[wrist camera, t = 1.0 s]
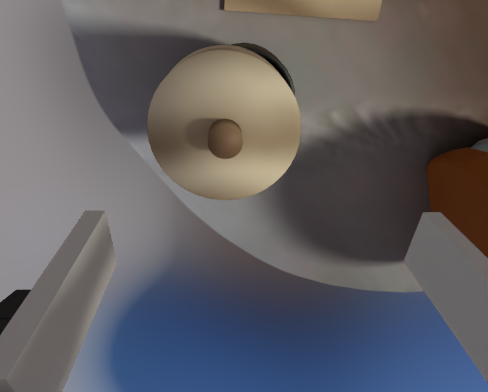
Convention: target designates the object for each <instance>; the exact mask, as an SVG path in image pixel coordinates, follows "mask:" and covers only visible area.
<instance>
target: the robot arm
mask: <svg viewBox="0 0 488 392" xmlns="http://www.w3.org/2000/svg"><path fill="white" fill-rule="evenodd" d="M404 262H405V264H406V265H407V267H408V268H409V269H410V271H411V272H412V274H413V275H414V277H415V278H416V280H417V281H418V283H419V284H420V285H421V287H422V288H423V290H424V291H425V293H426V294H427V296H428V297H429V298H430V300H431V301H432V303H433V304H434V306H435V307H436V309H437V310H438V311H439V313H440V314H441V316H442V317H443V319H444V320H445V322H446V323H447V324H448V326H449V327H450V329H451V330H452V332H453V333H454V335H455V336H456V338H457V339H458V341H459V342H460V344H461V345H462V346H463V348H464V349H465V351H466V352H467V354H468V355H469V357H470V358H471V359H472V361H473V362H474V364H475V365H476V367H477V368H478V369H479V371H480V372H481V374H482V375H483V377H484V378H485V380H486V381H487V383H488V258H487V257H486V256H485V255H484V254H483V253H482V252H481V251H480V250H479V249H478V248H477V247H476V246H475V245H474V244H473V243H472V242H471V241H470V240H468V239H467V238H466V237H465V236H464V235H463V234H462V233H461V232H460V231H459V230H458V229H457V228H456V227H455V226H454V225H453V224H452V223H451V222H450V221H449V220H448V219H447V218H446V217H445V216H444V215H443V214H442V213H441V212H423V214H422V216H421V219H420V221H419V224H418V226H417V229H416V231H415V234H414V236H413V239H412V241H411V244H410V246H409V249H408V252H407V254H406V257H405V259H404ZM116 263H117V261H116V256H115V252H114V248H113V243H112V239H111V234H110V230H109V226H108V221H107V217H106V212H105V211H85V212H84V213H83V215H82V216H81V218H80V219H79V221H78V222H77V224H76V225H75V227H74V228H73V230H72V231H71V233H70V234H69V235H68V237H67V238H66V240H65V241H64V243H63V244H62V246H61V247H60V249H59V250H58V252H57V253H56V254H55V256H54V258H53V259H52V260H51V262H50V263H49V265H48V266H47V268H46V269H45V270H44V272H43V273H42V275H41V276H40V278H39V279H38V281H37V282H36V284H35V285H34V287H33V288H32V289H31V290H16V291H14V292H13V293H12V294H10V295H9V296H8V297H7V298H5V299H4V300H3V301H2V302H0V392H62V390H63V388H64V386H65V384H66V381H67V379H68V376H69V374H70V372H71V369H72V367H73V365H74V362H75V360H76V358H77V355H78V353H79V350H80V348H81V346H82V343H83V341H84V339H85V336H86V334H87V332H88V329H89V327H90V325H91V322H92V320H93V318H94V315H95V313H96V311H97V308H98V306H99V303H100V301H101V299H102V296H103V294H104V292H105V289H106V287H107V285H108V282H109V280H110V277H111V275H112V273H113V270H114V268H115V266H116Z"/></svg>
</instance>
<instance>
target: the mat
mask: <svg viewBox="0 0 488 392" xmlns="http://www.w3.org/2000/svg"><path fill="white" fill-rule="evenodd" d="M381 3H382V0H225V4H224V10H229V11H243V12H257V13H270V14H284V15H298V16H312V17H325V18H339V19H353V20H367V21H377V20H378V16H379V12H380V7H381Z"/></svg>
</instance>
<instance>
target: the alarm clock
mask: <svg viewBox="0 0 488 392" xmlns="http://www.w3.org/2000/svg"><path fill="white" fill-rule="evenodd" d="M426 171H427V180H428V188H429V197H430V206H431V212H441V213H442V214H443V215H444V216H445V217H446V218H447V219H448V220H449V221H450V222H451V223H452V224H453V225H454V226H455V227H456V228H457V229H458V230H459V231H460V232H461V233H462V234H463V235H464V236H465V237H466V238H467V239H468V240H470V241H471V242H472V243H473V244H474V245H475V246H476V247H477V248H478V249H479V250H480V251H481V252H482V253H483V254H484V255H485V256H486V257H487V258H488V138H485V139H482V140H479V141H478V142H477V143H475V144H474V145H473V146H472V147H470V148H469V147H466V148H460V149H455V150H452V151H449V152H446V153H443V154H441V155H438V156H436V157H435V158H433V159H432V160H431V161H430V162H429V164H428V165H427V169H426Z"/></svg>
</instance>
